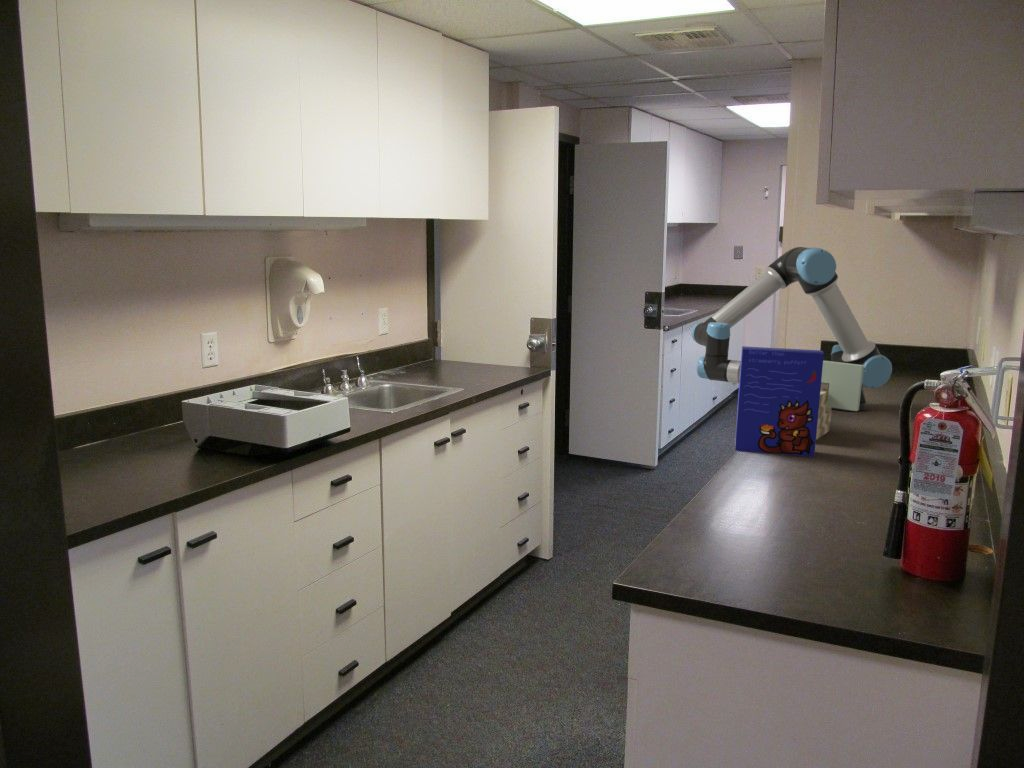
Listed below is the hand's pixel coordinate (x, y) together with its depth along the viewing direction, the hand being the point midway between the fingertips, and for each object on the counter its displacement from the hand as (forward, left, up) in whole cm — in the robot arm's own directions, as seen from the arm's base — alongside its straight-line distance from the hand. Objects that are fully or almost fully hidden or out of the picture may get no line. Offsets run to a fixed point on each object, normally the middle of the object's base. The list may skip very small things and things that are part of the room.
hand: (815, 382), depth 258 cm
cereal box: (+17, +25, -16) cm, 34 cm away
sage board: (-2, +1, -7) cm, 7 cm away
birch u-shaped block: (0, +5, -16) cm, 17 cm away
